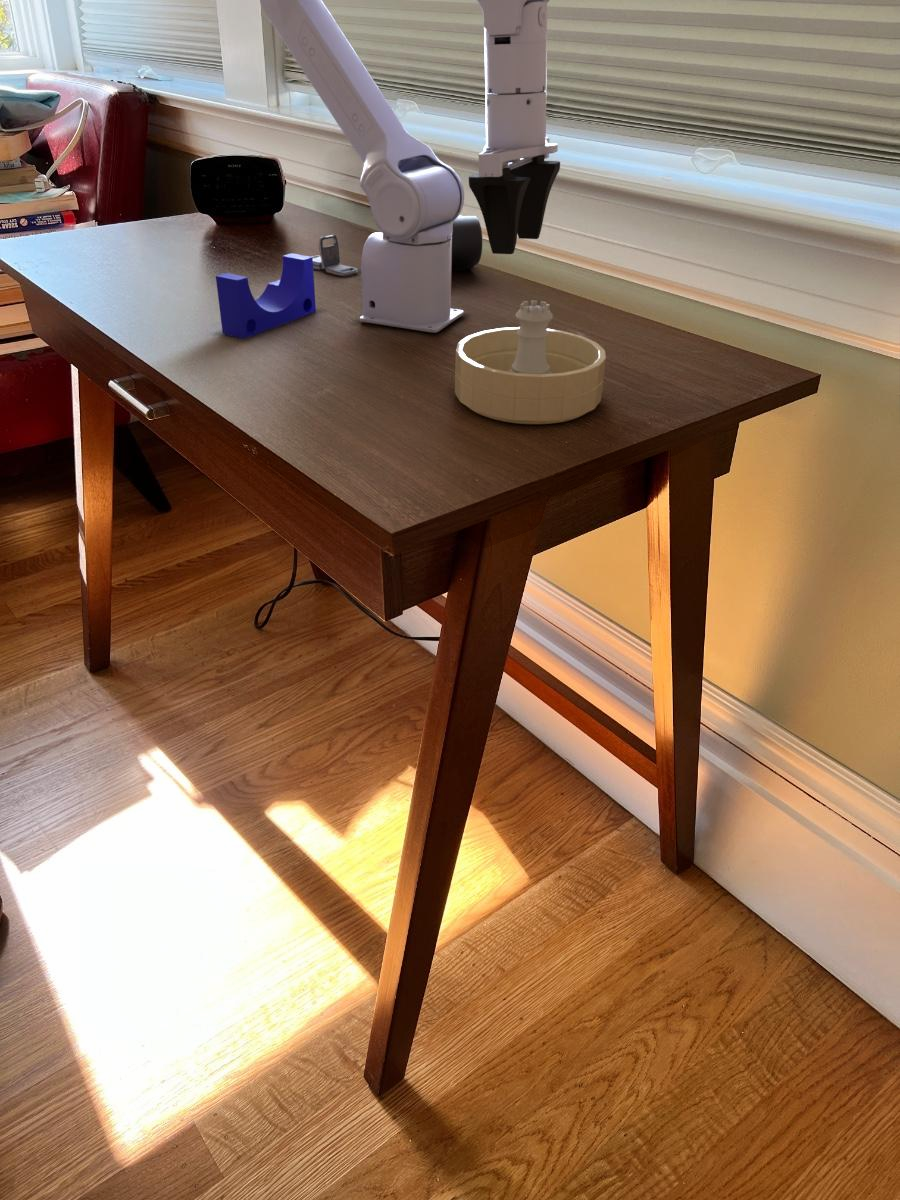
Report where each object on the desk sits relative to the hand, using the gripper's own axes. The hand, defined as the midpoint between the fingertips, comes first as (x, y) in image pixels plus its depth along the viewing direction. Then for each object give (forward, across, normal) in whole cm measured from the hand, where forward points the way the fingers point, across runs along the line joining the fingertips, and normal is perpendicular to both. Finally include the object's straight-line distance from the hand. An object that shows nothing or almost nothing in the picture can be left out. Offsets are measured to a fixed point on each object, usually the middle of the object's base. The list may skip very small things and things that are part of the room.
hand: (516, 245), depth 92 cm
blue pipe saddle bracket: (+8, -7, +27) cm, 29 cm away
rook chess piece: (+10, -16, -7) cm, 20 cm away
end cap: (+8, +22, +19) cm, 30 cm away
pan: (+10, -16, -7) cm, 20 cm away
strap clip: (+7, +16, +32) cm, 37 cm away
